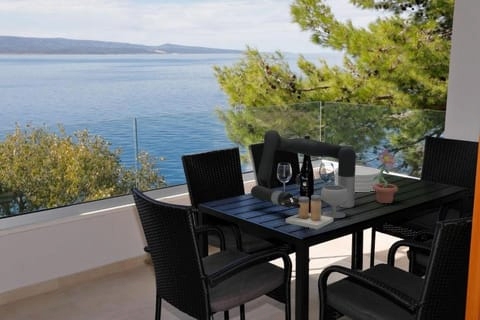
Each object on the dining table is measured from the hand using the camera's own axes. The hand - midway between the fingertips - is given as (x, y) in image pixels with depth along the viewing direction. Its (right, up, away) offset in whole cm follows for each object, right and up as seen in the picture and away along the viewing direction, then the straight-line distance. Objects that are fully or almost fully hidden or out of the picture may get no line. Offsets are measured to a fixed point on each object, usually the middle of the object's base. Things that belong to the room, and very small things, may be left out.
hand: (305, 204), depth 267 cm
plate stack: (+42, +4, +74) cm, 85 cm away
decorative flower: (+49, -2, +38) cm, 62 cm away
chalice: (+16, -7, +12) cm, 21 cm away
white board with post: (+2, -9, 0) cm, 9 cm away
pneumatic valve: (+8, +3, +63) cm, 64 cm away
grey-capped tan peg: (-1, -8, +2) cm, 9 cm away
